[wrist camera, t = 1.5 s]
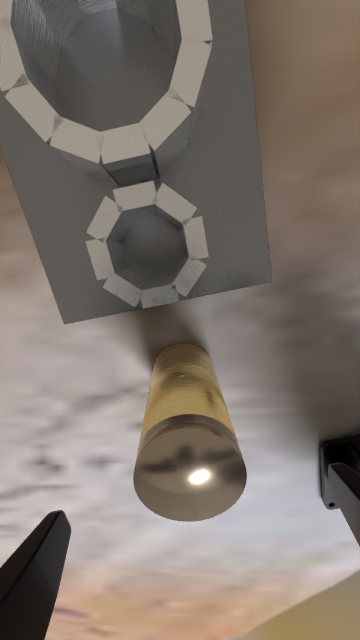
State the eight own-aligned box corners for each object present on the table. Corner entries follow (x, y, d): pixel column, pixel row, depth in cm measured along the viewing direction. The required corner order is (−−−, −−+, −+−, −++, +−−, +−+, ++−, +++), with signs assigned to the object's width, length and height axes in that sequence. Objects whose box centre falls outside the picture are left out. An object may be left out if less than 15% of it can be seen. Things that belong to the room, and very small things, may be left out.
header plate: (264, 279, 15) (298, 290, 10) (72, 318, 15) (35, 344, 11) (231, -35, 11) (266, -210, 7) (-27, 31, 11) (-143, -94, 7)
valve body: (217, 390, 17) (253, 511, 9) (160, 401, 17) (148, 529, 9) (207, 337, 16) (238, 424, 8) (146, 349, 16) (119, 445, 8)
